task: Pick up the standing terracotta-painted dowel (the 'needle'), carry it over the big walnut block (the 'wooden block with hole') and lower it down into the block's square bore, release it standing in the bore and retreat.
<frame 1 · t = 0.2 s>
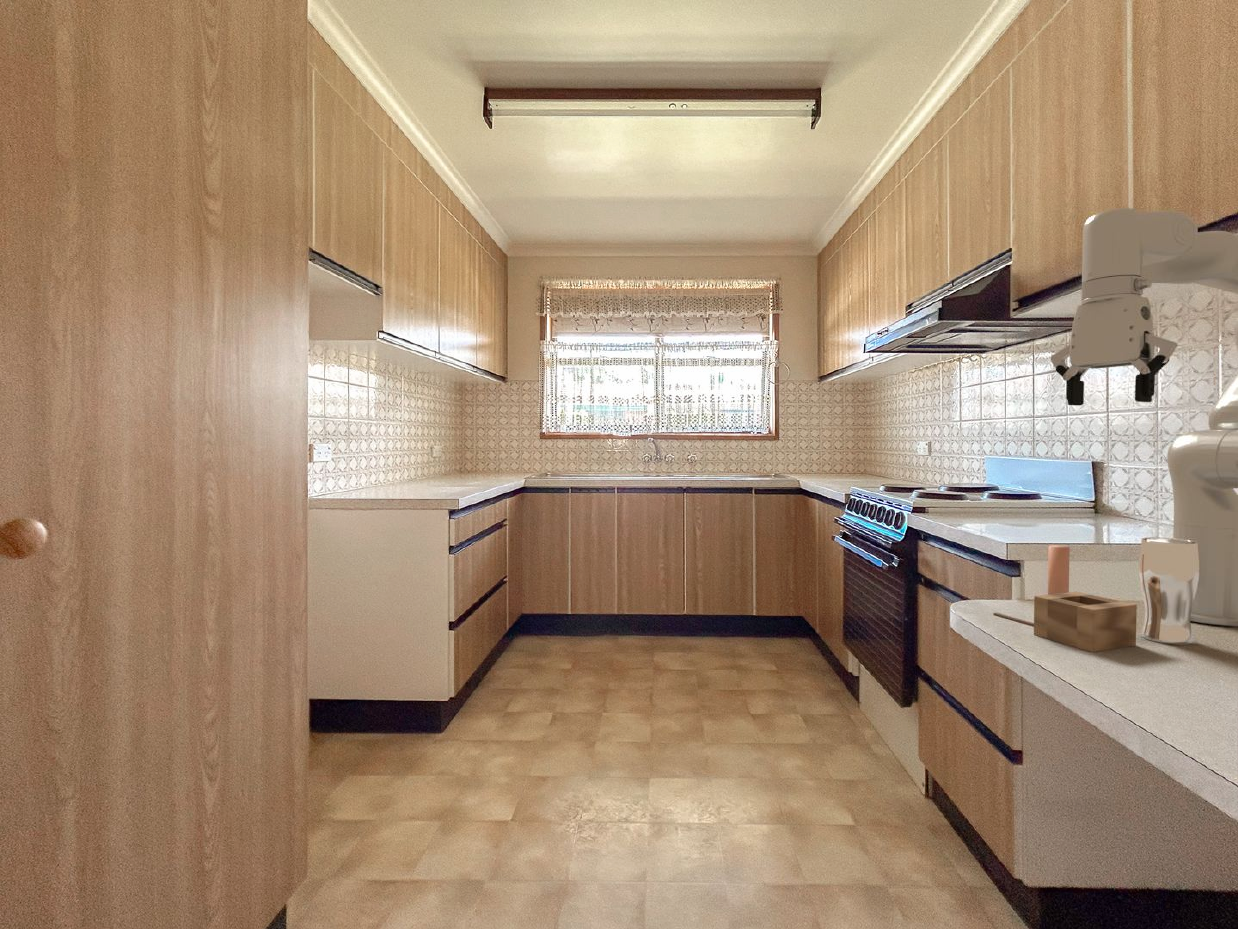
hand: (1108, 403, 103), 36 cm above the countertop, tool pointing down, fingers open, 9 cm apart
beer glass: (1166, 640, 99), on the countertop
brown thin square rod: (1020, 622, 109), on the countertop
dowel: (1057, 616, 113), on the countertop
wooden block with hole: (1083, 639, 99), on the countertop
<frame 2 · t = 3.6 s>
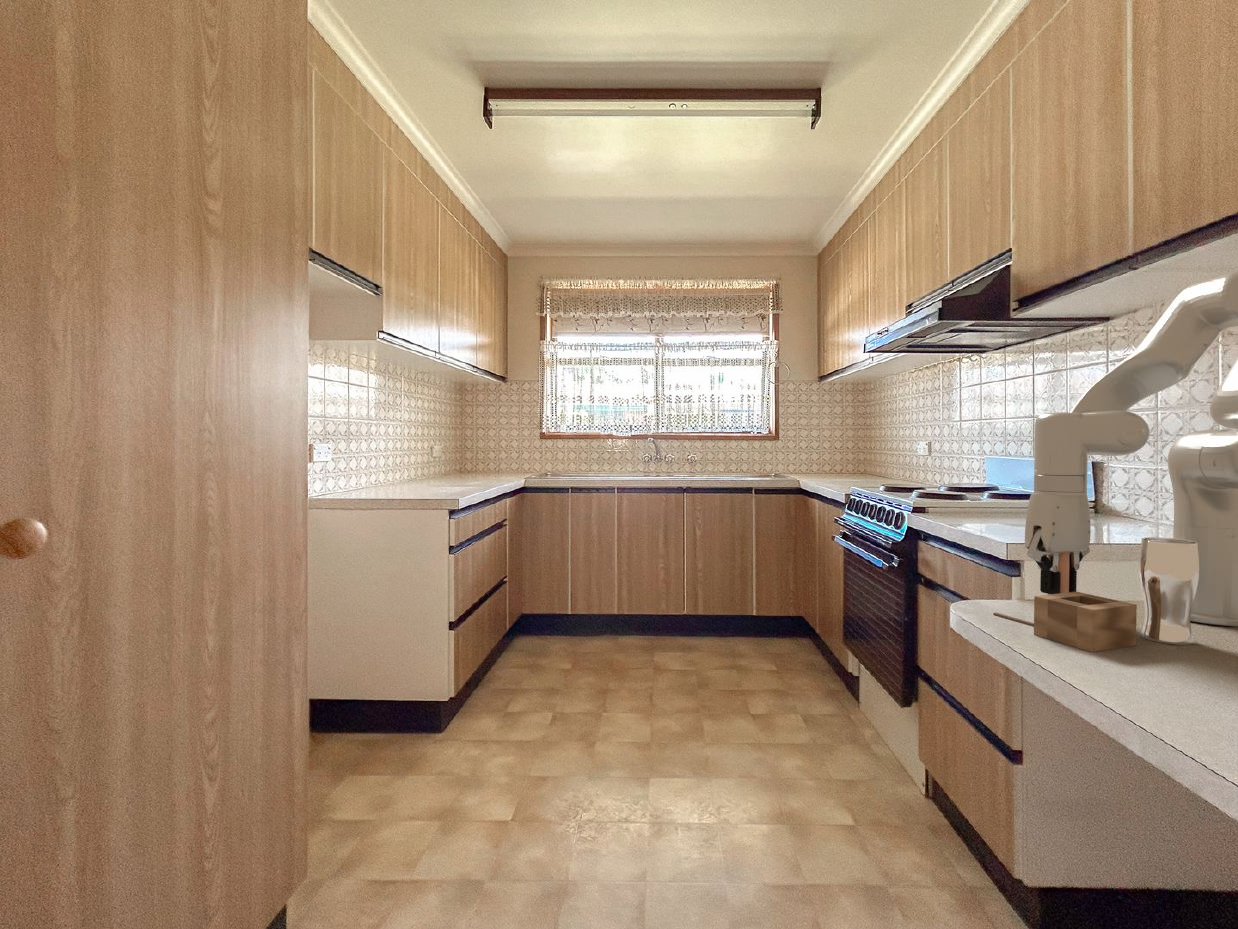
hand: (1058, 591, 113), 4 cm above the countertop, tool pointing down, fingers closed on dowel, 3 cm apart
dowel: (1057, 616, 113), on the countertop, touching gripper
everything else where it was.
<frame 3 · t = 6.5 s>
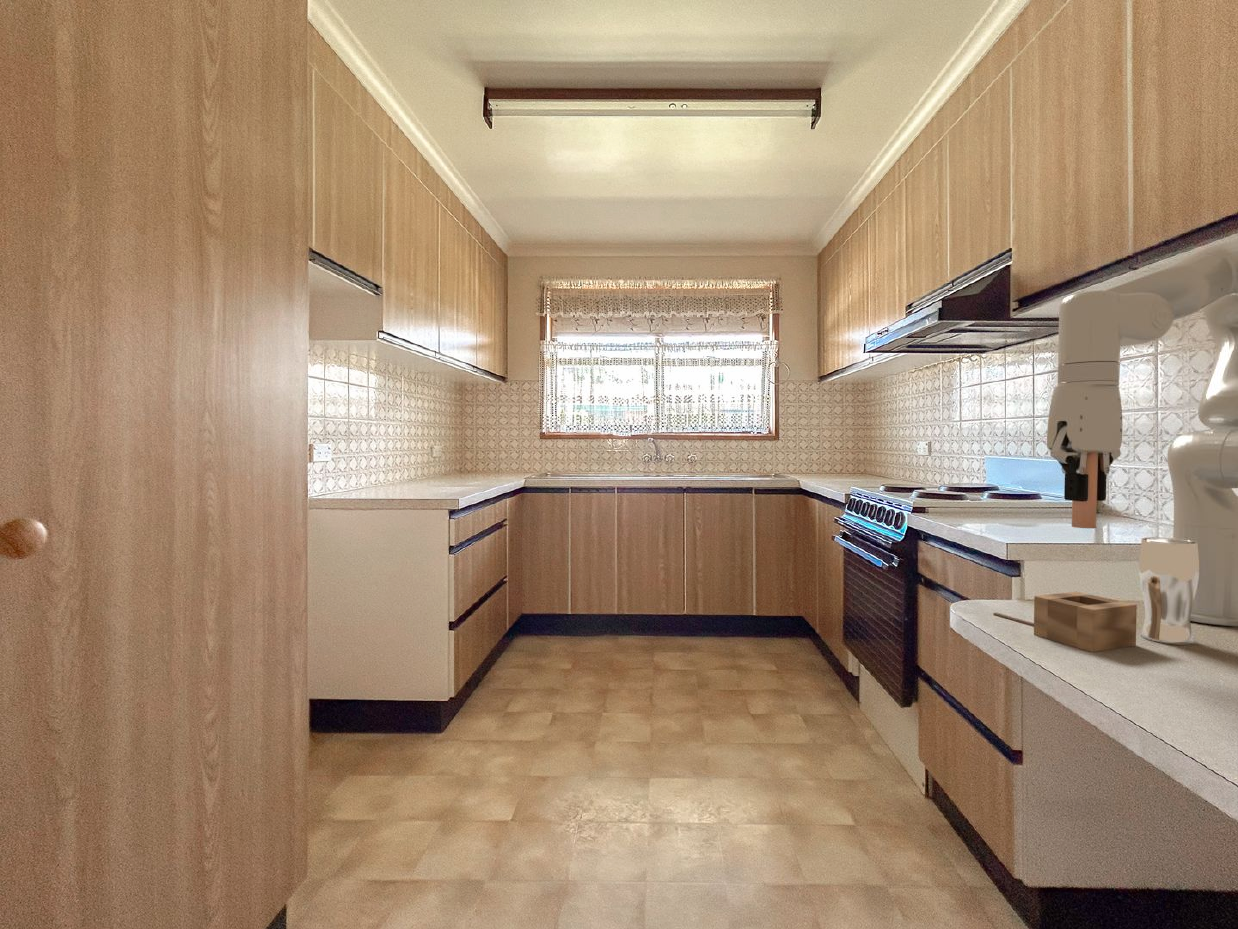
hand: (1084, 499, 99), 21 cm above the countertop, tool pointing down, fingers closed on dowel, 3 cm apart
dowel: (1083, 527, 99), point 17 cm above the countertop, touching gripper
everything else where it was.
when the fingers open (7 cm above the countertop, at t = 9.2 s): dowel drops 2 cm, resting in wooden block with hole.
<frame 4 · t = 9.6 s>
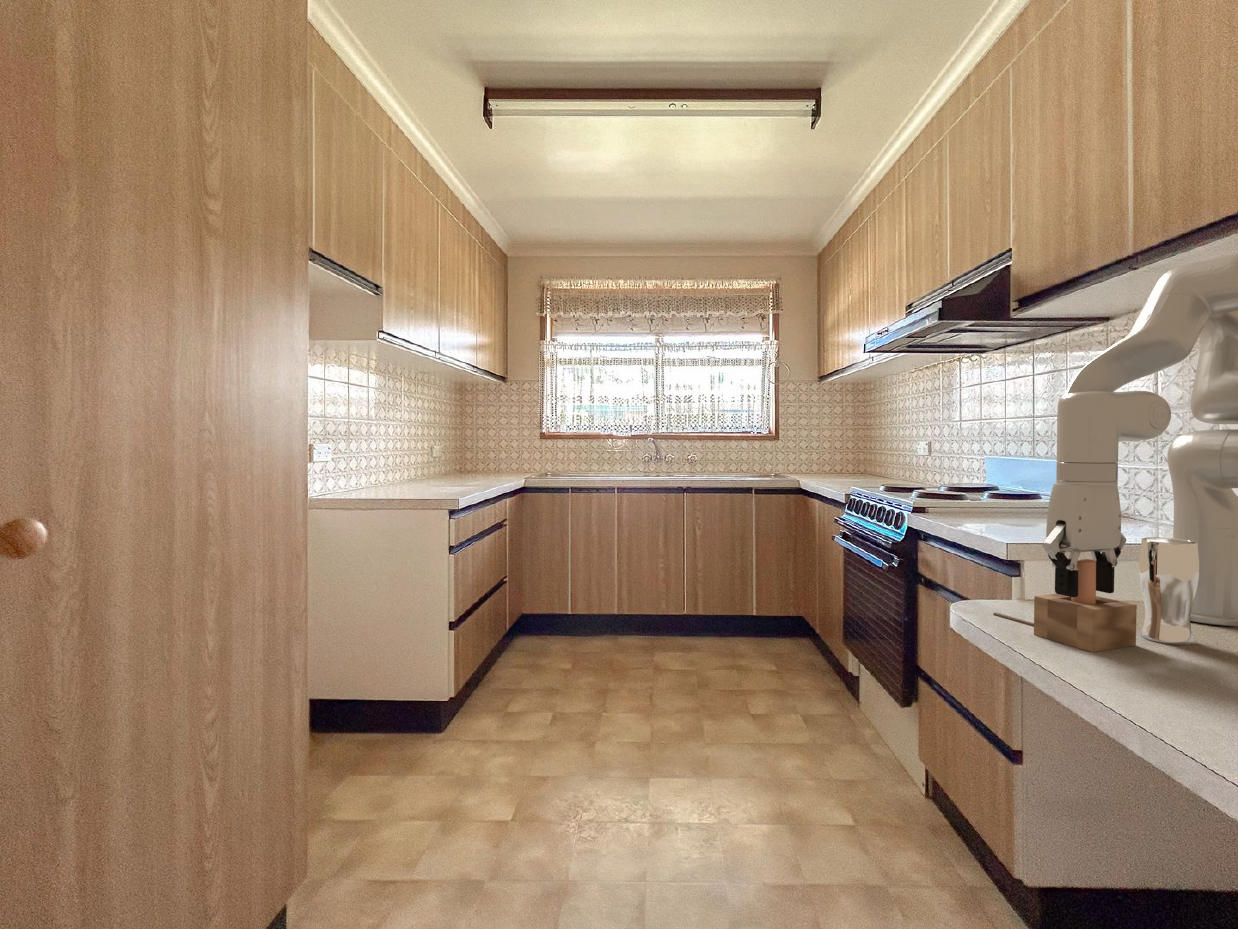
hand: (1084, 592, 99), 7 cm above the countertop, tool pointing down, fingers open, 6 cm apart
dowel: (1083, 639, 100), resting in wooden block with hole
everything else where it was.
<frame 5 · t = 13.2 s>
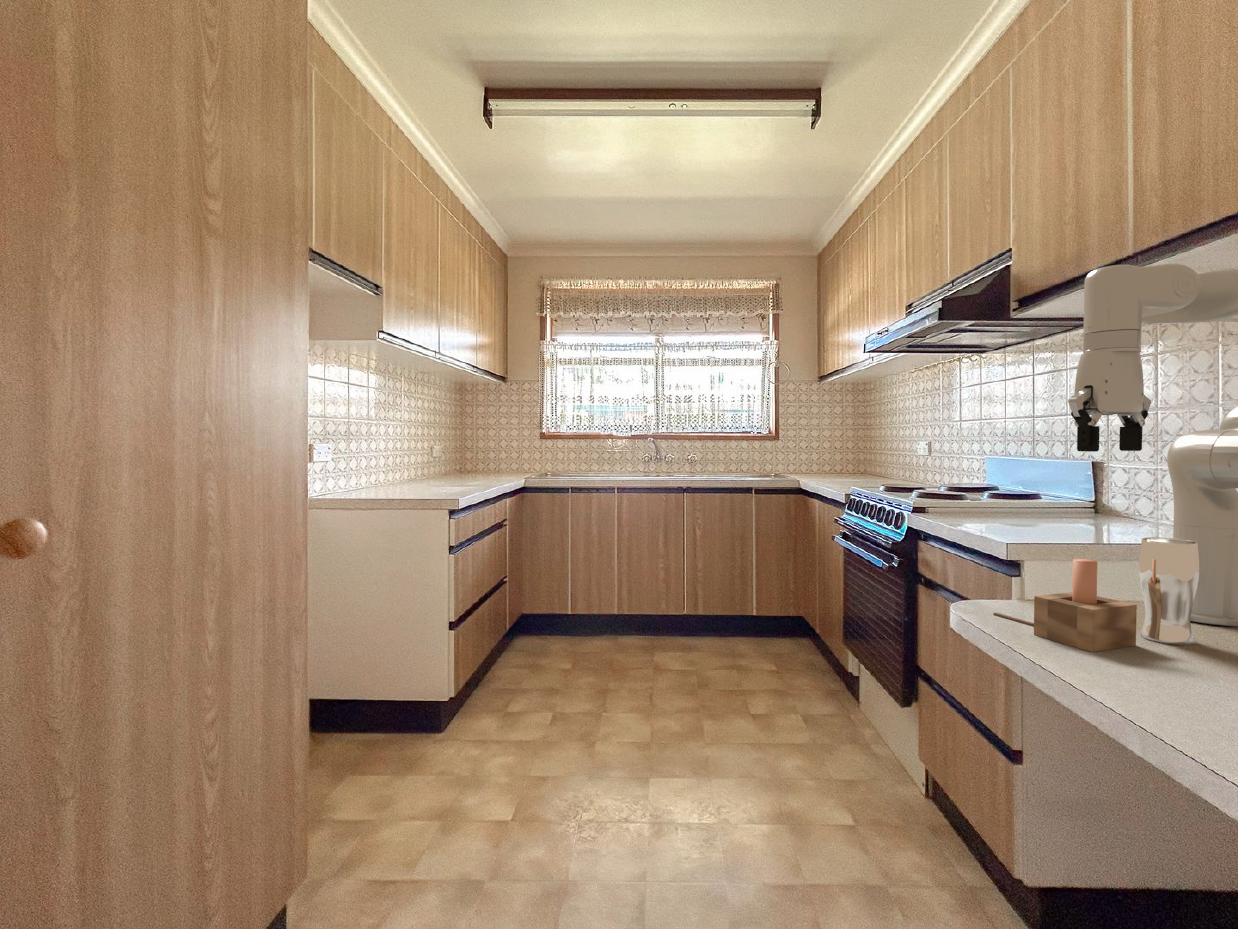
hand: (1109, 451, 107), 28 cm above the countertop, tool pointing down, fingers open, 9 cm apart
nothing on the countertop moved.
at the end: dowel 0.1 cm off-centre on the wooden block with hole, point 0.0 cm above the wooden block with hole's base; dowel tilted 0°; the gripper is holding nothing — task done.
